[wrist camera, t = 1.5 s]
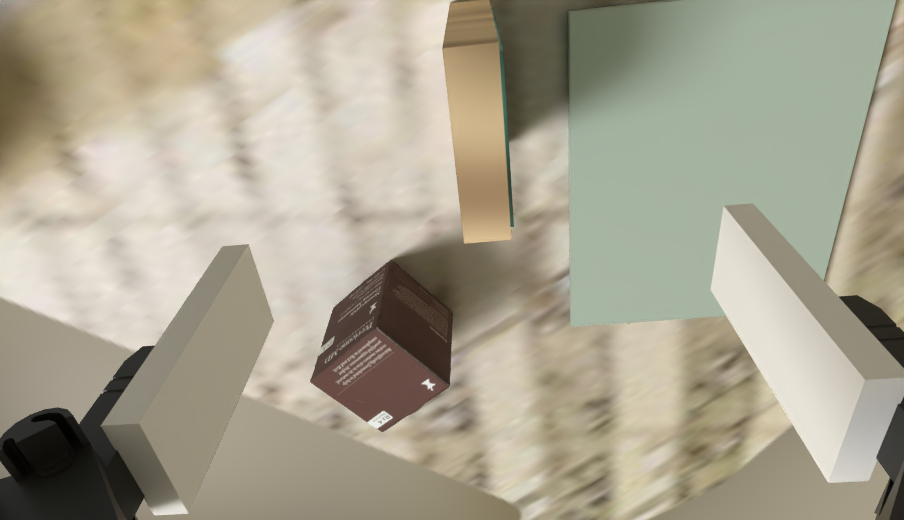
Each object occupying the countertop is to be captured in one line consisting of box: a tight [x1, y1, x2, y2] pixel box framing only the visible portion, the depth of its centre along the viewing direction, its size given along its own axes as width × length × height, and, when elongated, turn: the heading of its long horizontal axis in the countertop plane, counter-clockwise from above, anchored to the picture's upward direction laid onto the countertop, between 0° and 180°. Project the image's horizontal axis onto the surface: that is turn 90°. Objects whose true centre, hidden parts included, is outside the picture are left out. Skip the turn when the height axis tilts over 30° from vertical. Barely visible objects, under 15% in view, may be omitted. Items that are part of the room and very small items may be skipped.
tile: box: [442, 0, 514, 244], centre depth 28 cm, size 8×2×11 cm, turn 6°
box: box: [310, 262, 453, 432], centre depth 38 cm, size 6×6×7 cm
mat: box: [568, 0, 896, 327], centre depth 35 cm, size 20×16×1 cm
